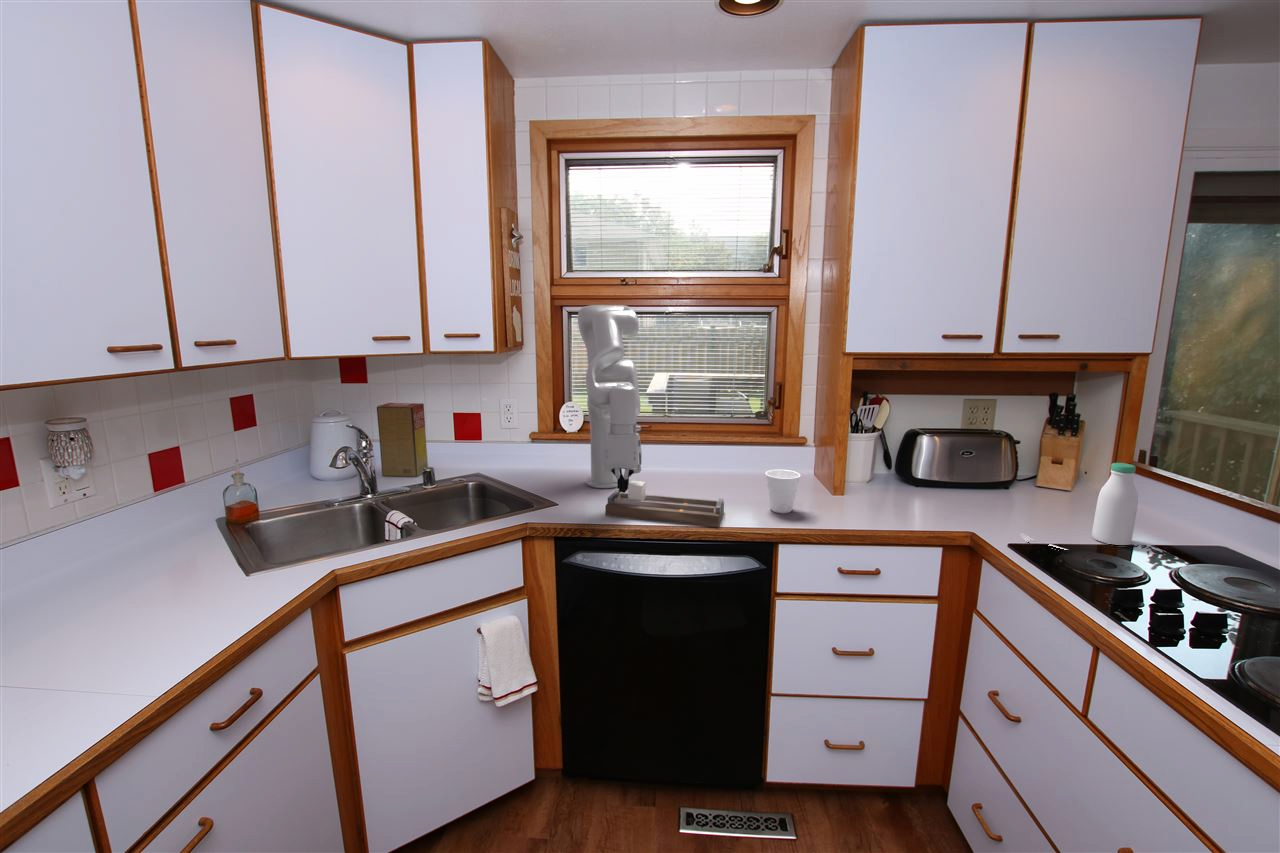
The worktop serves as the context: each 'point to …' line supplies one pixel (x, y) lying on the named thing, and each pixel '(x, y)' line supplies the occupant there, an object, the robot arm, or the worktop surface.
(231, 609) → the worktop surface
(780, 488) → the cup
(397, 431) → the food packaging
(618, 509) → the fader console
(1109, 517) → the milk bottle
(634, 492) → the fader tab
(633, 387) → the robot arm
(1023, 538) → the fork
